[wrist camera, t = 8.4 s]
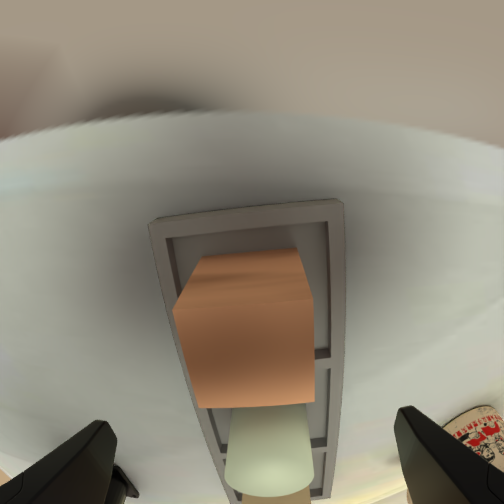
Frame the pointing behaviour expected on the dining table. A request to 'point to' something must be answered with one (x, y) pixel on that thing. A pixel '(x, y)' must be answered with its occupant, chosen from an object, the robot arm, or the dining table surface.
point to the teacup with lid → (479, 435)
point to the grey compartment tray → (325, 347)
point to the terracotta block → (248, 330)
